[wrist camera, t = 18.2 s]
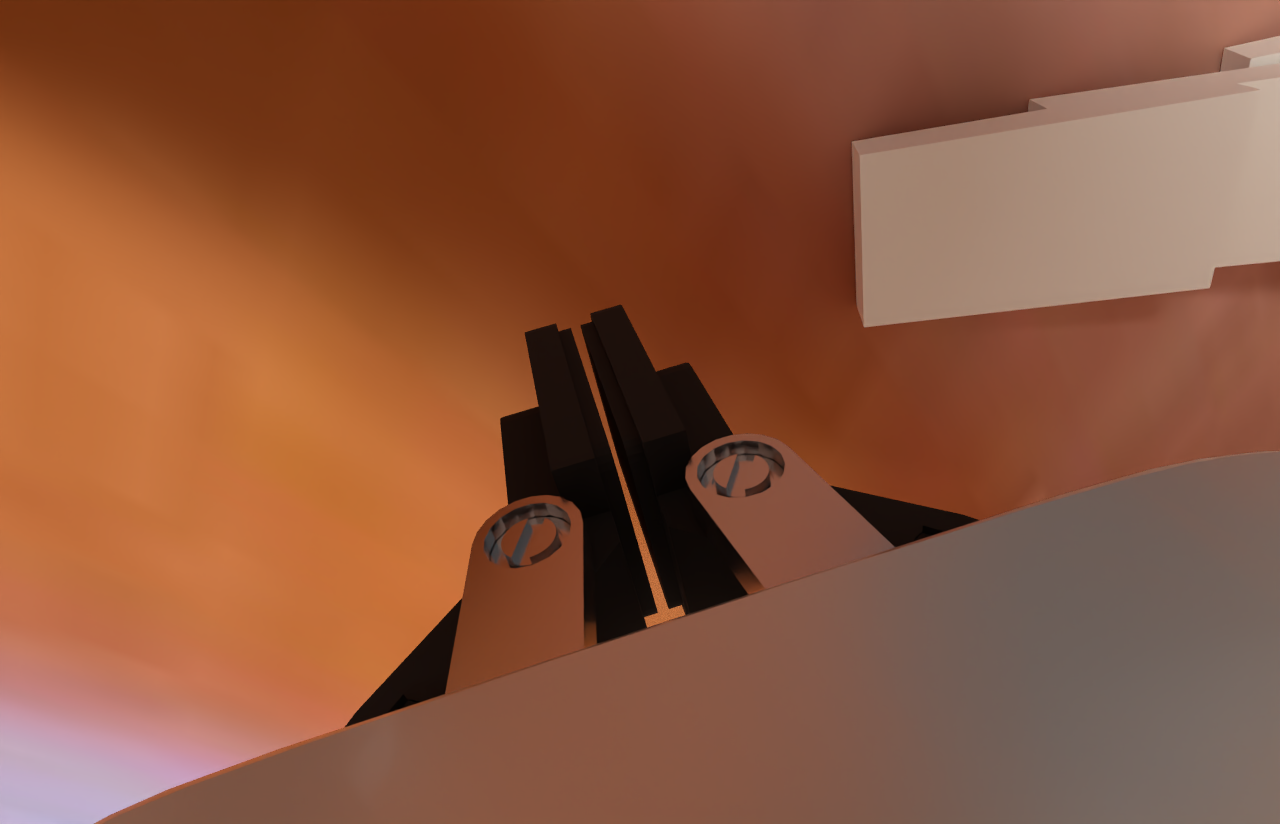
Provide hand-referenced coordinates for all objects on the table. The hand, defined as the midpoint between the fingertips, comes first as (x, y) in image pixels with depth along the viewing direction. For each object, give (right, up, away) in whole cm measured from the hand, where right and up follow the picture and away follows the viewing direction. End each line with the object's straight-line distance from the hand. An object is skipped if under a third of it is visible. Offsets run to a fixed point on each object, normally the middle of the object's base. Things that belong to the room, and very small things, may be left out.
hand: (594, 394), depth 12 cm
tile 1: (+7, +5, +8) cm, 12 cm away
